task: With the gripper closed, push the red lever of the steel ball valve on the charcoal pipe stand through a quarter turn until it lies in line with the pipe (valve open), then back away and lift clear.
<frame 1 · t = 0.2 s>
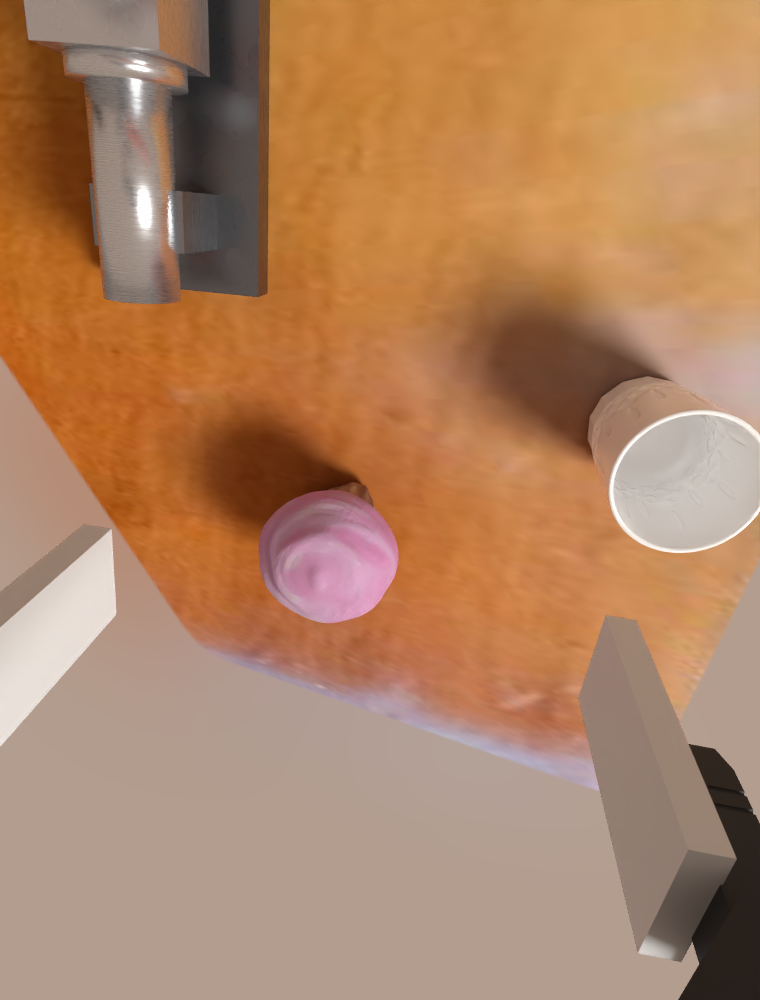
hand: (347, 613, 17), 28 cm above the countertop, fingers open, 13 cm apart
cupcake: (345, 513, 47), on the countertop
valve stand: (182, 24, 36), on the countertop
white cup: (639, 426, 42), on the countertop
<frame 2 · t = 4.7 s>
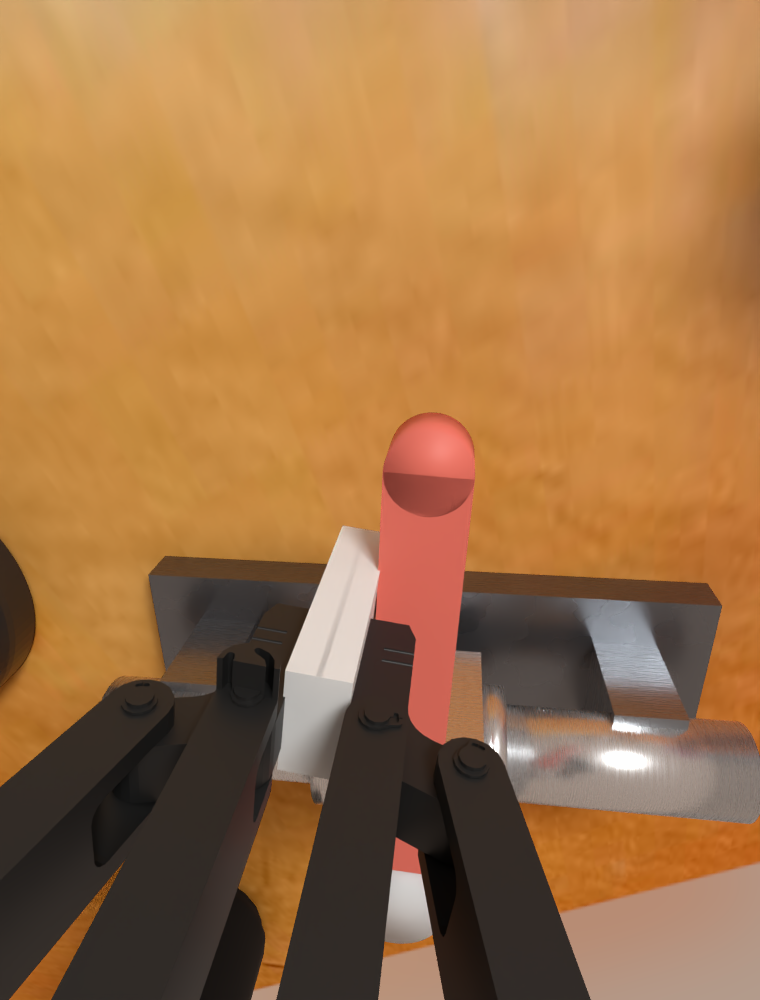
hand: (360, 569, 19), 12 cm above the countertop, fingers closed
coffee jar: (200, 910, 47), on the countertop
valve stand: (421, 648, 35), on the countertop
valve lever: (409, 718, 19), point 14 cm above the countertop, hinge at 86.8°, touching gripper
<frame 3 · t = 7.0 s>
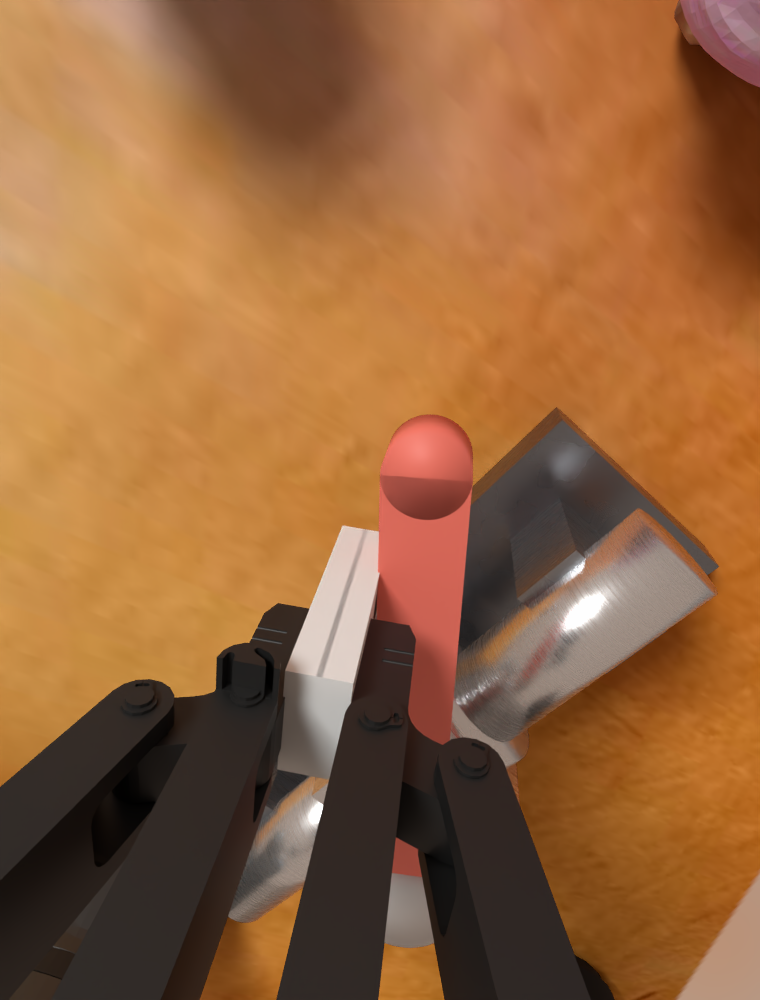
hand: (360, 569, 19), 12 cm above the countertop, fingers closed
coffee jar: (535, 983, 46), on the countertop
valve stand: (428, 650, 35), on the countertop
valve lever: (413, 721, 19), point 14 cm above the countertop, hinge at 39.4°, touching gripper
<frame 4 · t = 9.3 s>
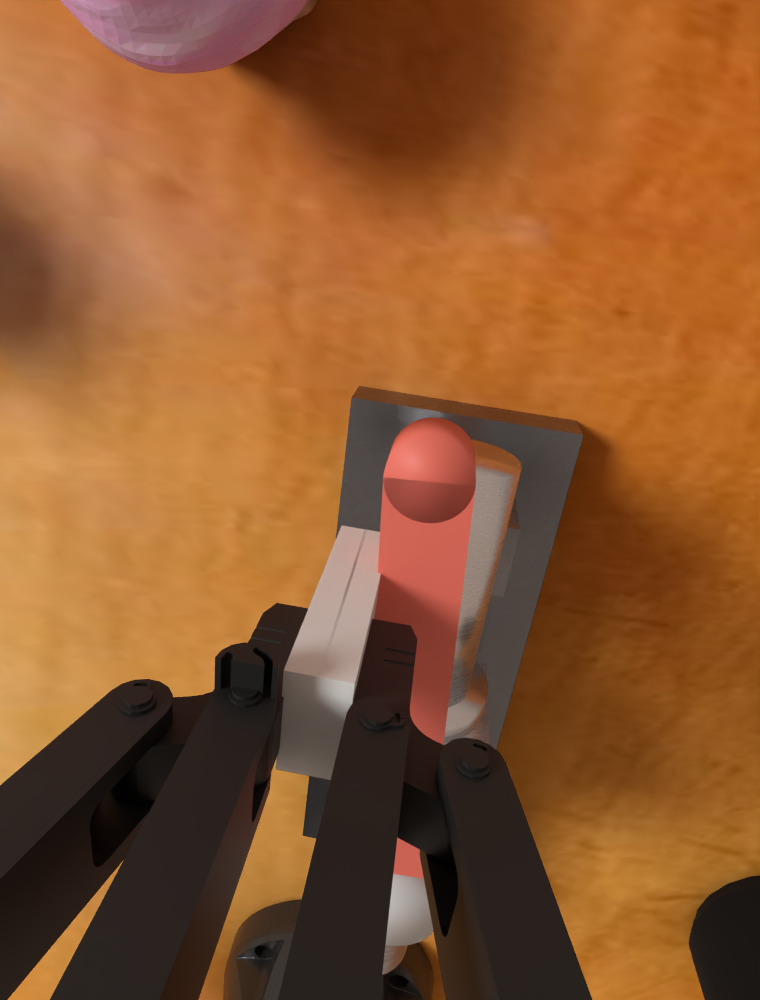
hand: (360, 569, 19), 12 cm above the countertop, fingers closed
valve stand: (419, 648, 35), on the countertop
valve lever: (407, 722, 19), point 14 cm above the countertop, hinge at 4.3°, touching gripper
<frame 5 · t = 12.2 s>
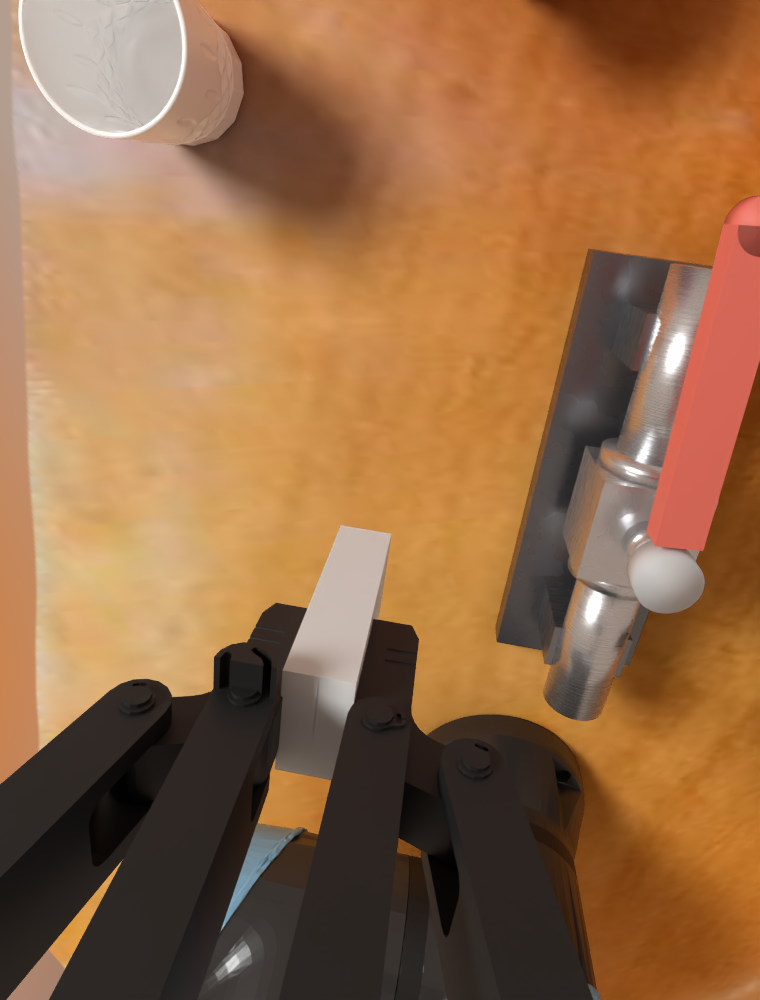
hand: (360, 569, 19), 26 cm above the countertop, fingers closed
valve stand: (608, 474, 44), on the countertop
valve lever: (705, 426, 28), point 14 cm above the countertop, hinge at 4.3°
white cup: (190, 81, 38), on the countertop
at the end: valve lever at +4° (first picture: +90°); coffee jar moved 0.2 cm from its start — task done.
